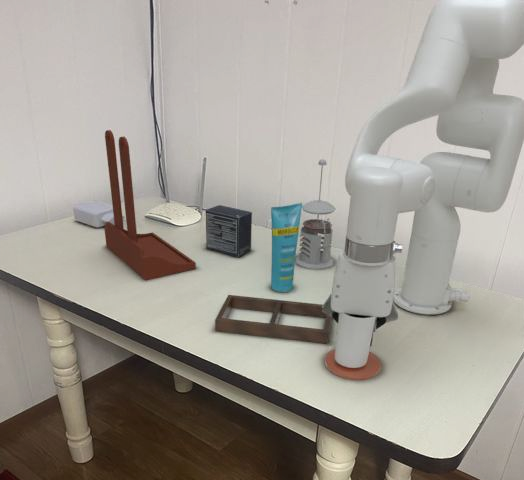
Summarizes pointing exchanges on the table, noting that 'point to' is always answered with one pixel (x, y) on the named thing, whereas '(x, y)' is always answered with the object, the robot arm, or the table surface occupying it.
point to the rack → (272, 319)
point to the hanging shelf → (128, 241)
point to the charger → (94, 213)
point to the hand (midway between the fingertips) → (355, 346)
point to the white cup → (353, 339)
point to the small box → (228, 230)
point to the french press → (316, 234)
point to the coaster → (354, 373)
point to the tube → (284, 245)
